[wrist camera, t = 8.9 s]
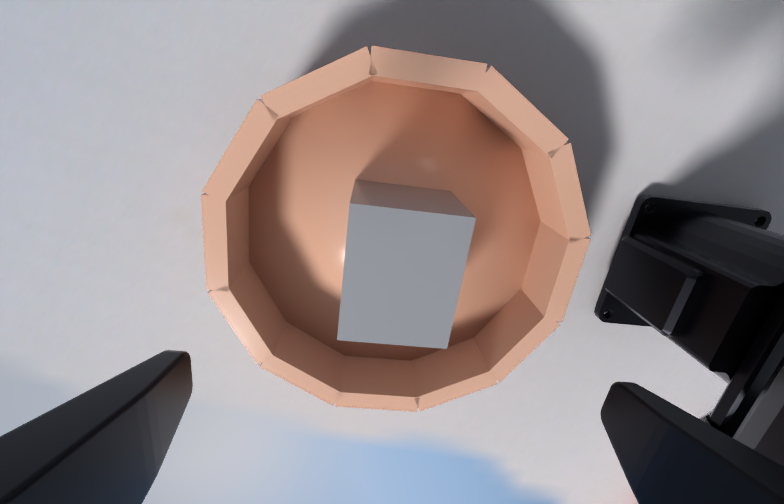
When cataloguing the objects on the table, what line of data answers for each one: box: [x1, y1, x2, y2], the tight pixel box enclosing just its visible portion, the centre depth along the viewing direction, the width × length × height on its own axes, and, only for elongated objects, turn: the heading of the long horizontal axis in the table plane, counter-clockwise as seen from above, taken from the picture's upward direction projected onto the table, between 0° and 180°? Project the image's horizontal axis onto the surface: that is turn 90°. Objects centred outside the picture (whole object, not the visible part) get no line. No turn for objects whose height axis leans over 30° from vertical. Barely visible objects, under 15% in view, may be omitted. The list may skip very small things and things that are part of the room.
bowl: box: [201, 46, 591, 412], centre depth 15 cm, size 14×14×4 cm
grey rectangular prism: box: [337, 179, 476, 349], centre depth 14 cm, size 4×5×4 cm
